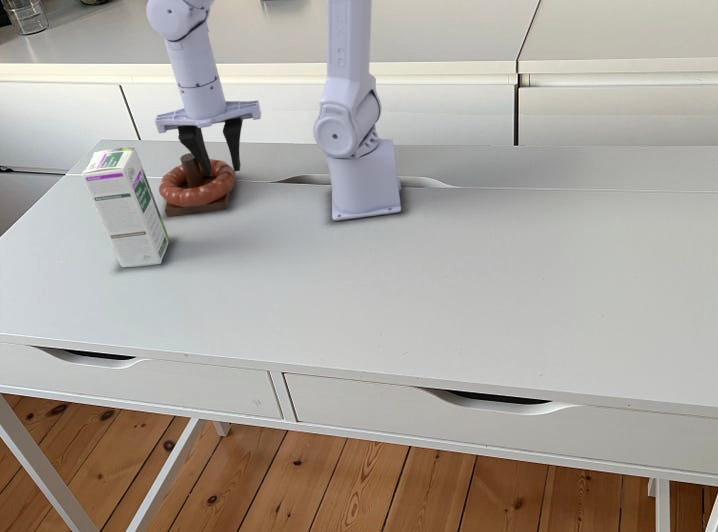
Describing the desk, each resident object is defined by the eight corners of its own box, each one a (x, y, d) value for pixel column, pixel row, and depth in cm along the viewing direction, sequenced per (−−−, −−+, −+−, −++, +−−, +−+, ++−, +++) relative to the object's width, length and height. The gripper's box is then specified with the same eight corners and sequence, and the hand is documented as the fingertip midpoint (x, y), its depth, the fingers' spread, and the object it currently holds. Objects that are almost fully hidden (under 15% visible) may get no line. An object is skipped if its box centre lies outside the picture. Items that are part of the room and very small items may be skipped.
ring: (240, 167, 119) (236, 152, 117) (232, 204, 111) (228, 188, 109) (169, 176, 120) (164, 161, 118) (156, 214, 111) (151, 198, 110)
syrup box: (162, 264, 103) (126, 166, 94) (119, 268, 104) (79, 172, 94) (170, 241, 108) (137, 145, 98) (129, 245, 108) (92, 150, 98)
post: (232, 178, 119) (221, 138, 115) (227, 209, 112) (215, 167, 108) (175, 186, 119) (162, 146, 115) (166, 217, 113) (152, 176, 108)
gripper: (140, 99, 101) (170, 190, 110) (248, 83, 101) (270, 176, 110) (149, 78, 107) (177, 166, 116) (252, 63, 106) (272, 153, 115)
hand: (223, 170), depth 113 cm, fingers open, 4 cm apart
